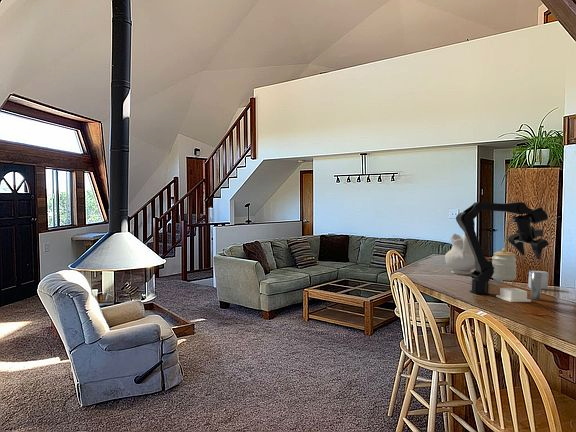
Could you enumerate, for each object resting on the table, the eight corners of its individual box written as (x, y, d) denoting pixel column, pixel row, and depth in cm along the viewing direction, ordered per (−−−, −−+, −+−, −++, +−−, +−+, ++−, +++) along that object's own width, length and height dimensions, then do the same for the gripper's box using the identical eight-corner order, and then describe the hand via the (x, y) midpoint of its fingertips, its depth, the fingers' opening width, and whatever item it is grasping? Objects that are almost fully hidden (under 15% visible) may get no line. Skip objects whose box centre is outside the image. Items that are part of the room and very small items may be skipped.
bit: (534, 300, 195) (535, 273, 195) (528, 298, 199) (529, 271, 199) (542, 300, 196) (544, 273, 195) (536, 298, 200) (537, 271, 199)
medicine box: (543, 288, 227) (544, 271, 227) (548, 289, 223) (549, 272, 223) (527, 287, 228) (528, 270, 228) (531, 288, 224) (532, 271, 223)
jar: (518, 281, 245) (520, 249, 245) (493, 279, 248) (495, 248, 247) (512, 277, 258) (513, 247, 258) (488, 276, 261) (489, 246, 260)
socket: (510, 301, 190) (510, 291, 190) (495, 296, 200) (496, 287, 200) (531, 301, 192) (531, 291, 192) (515, 296, 202) (516, 287, 201)
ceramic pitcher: (484, 278, 258) (489, 236, 257) (450, 275, 258) (455, 232, 257) (469, 273, 279) (474, 234, 278) (438, 269, 279) (443, 230, 279)
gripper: (554, 223, 199) (561, 254, 203) (522, 218, 217) (528, 246, 221) (535, 233, 197) (542, 264, 201) (504, 226, 215) (511, 255, 218)
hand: (531, 257), depth 210 cm, fingers open, 9 cm apart
